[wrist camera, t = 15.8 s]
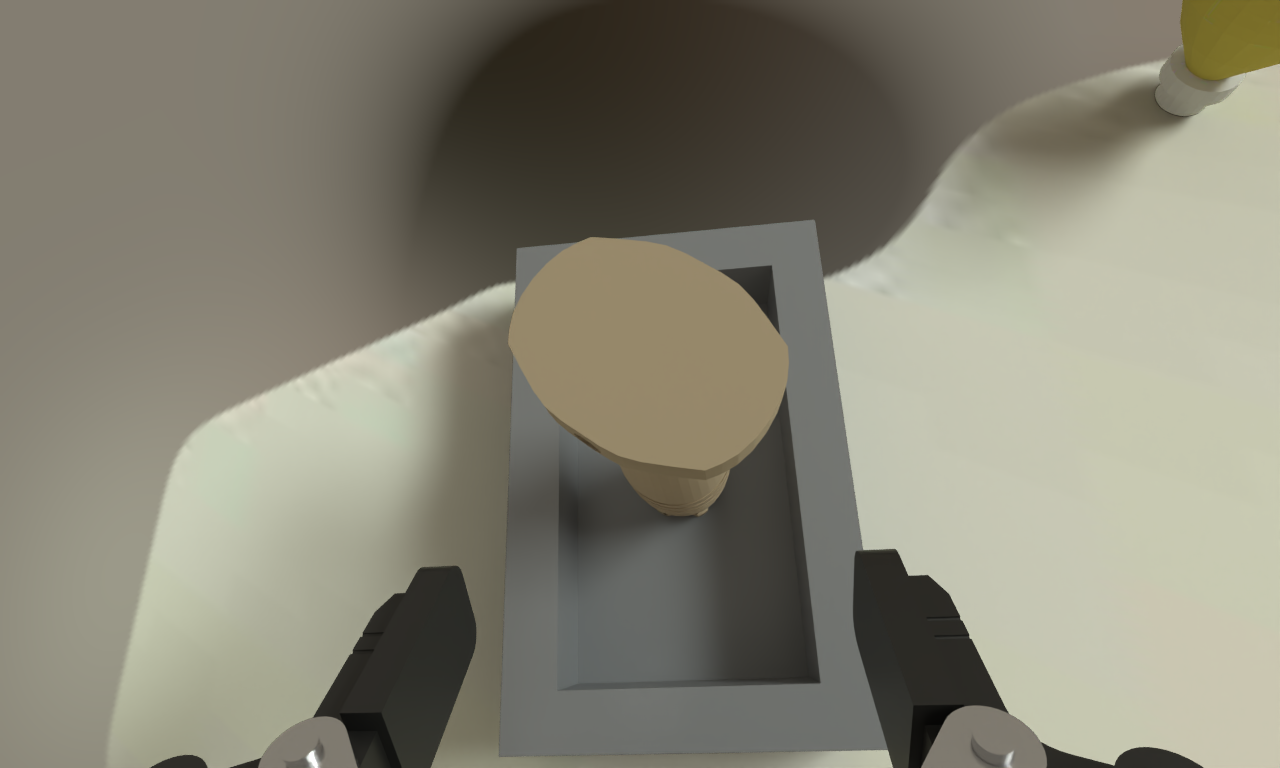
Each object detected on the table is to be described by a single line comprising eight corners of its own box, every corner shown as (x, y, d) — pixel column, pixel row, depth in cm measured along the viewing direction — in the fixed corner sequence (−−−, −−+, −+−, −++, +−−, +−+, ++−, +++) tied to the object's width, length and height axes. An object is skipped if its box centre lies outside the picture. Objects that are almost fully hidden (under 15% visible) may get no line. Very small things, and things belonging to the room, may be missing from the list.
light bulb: (1226, 36, 35) (1411, -184, 25) (1280, 141, 32) (1506, -59, 23) (1090, 56, 35) (1221, -152, 26) (1132, 161, 33) (1294, -27, 23)
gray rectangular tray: (865, 730, 26) (892, 749, 22) (534, 737, 27) (499, 756, 23) (803, 272, 33) (814, 219, 29) (542, 295, 34) (517, 248, 30)
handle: (716, 575, 27) (706, 517, 13) (591, 488, 29) (468, 358, 15) (778, 477, 28) (828, 330, 15) (654, 400, 30) (592, 203, 16)
